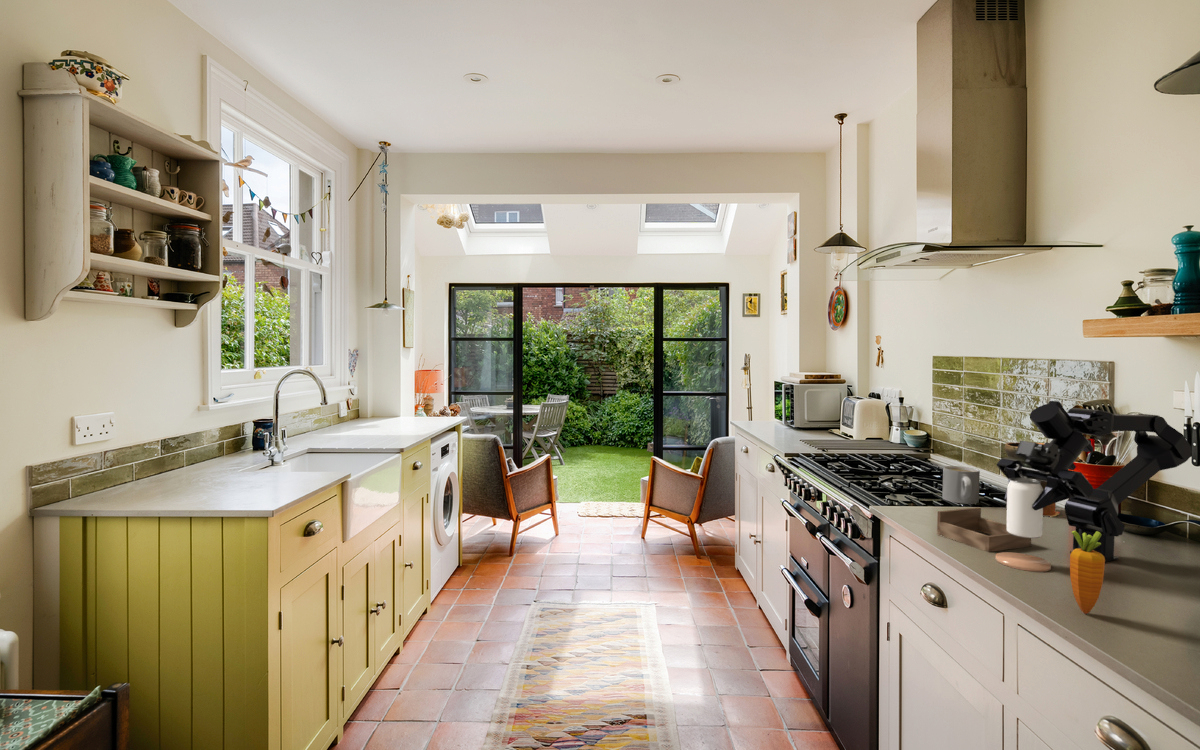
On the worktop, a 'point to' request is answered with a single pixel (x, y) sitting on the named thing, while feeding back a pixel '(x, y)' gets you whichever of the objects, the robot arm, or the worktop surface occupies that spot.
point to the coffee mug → (961, 484)
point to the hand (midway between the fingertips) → (1019, 504)
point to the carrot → (1086, 571)
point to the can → (1024, 508)
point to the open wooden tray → (969, 520)
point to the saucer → (1023, 561)
